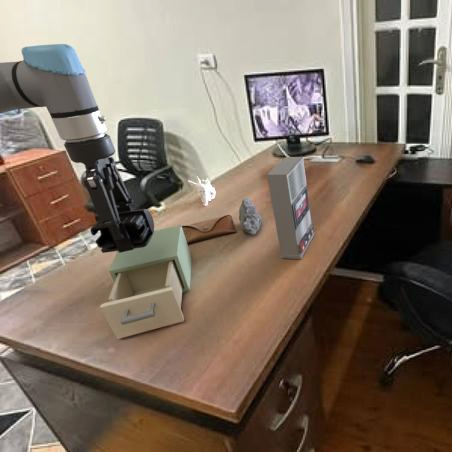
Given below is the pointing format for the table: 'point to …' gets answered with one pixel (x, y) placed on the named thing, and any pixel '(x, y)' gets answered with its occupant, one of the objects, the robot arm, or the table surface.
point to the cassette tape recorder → (291, 207)
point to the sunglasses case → (209, 229)
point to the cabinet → (158, 254)
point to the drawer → (145, 299)
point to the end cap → (136, 228)
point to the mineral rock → (249, 217)
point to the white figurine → (204, 191)
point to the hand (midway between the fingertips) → (130, 240)
